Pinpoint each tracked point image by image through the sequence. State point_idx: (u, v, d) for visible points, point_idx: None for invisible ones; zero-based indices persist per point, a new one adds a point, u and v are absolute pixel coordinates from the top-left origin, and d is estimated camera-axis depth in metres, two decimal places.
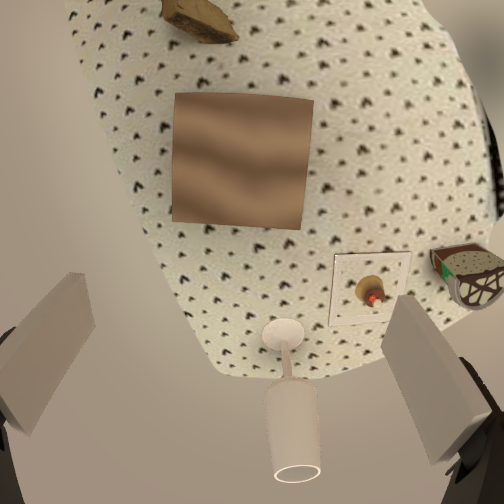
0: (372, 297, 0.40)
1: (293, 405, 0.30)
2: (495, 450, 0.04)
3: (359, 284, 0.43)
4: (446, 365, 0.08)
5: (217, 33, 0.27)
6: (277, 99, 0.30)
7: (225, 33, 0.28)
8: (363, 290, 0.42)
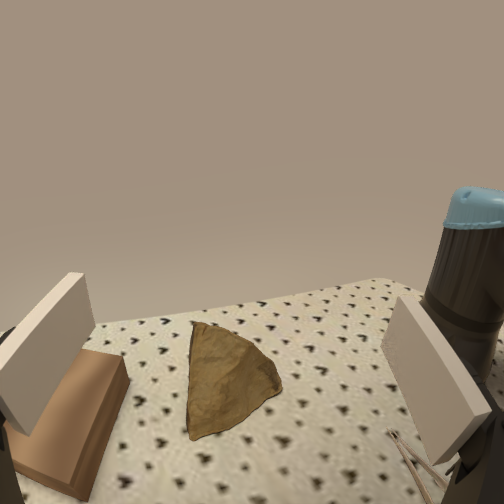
0: None
1: None
2: (495, 450, 0.04)
3: None
4: (446, 365, 0.08)
5: None
6: (79, 443, 0.17)
7: (188, 410, 0.23)
8: None
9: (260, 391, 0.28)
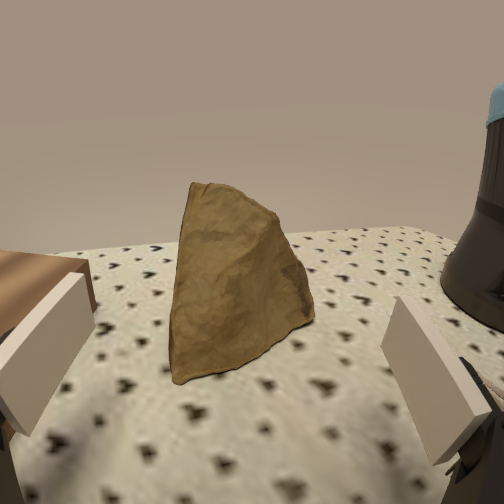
0: None
1: None
2: (495, 450, 0.04)
3: None
4: (446, 365, 0.08)
5: None
6: None
7: (171, 325, 0.15)
8: None
9: (285, 312, 0.20)
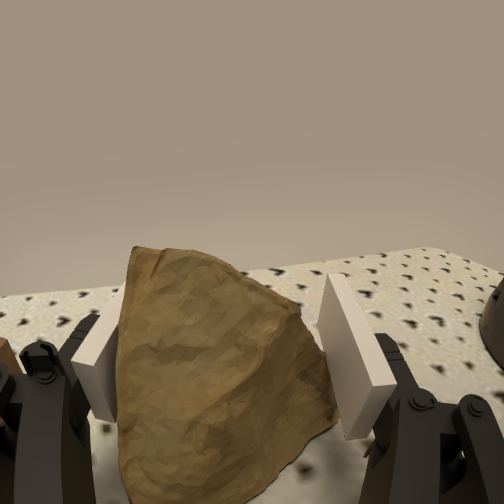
0: None
1: None
2: (404, 432, 0.06)
3: None
4: (355, 336, 0.09)
5: None
6: None
7: (122, 481, 0.07)
8: None
9: (301, 427, 0.12)
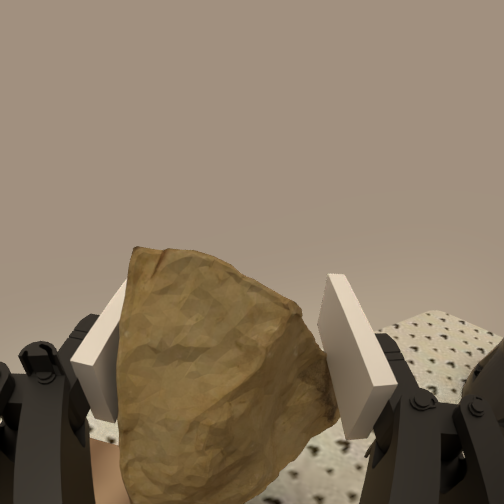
0: None
1: None
2: (405, 432, 0.06)
3: None
4: (355, 336, 0.09)
5: None
6: None
7: (123, 482, 0.07)
8: None
9: (302, 427, 0.12)
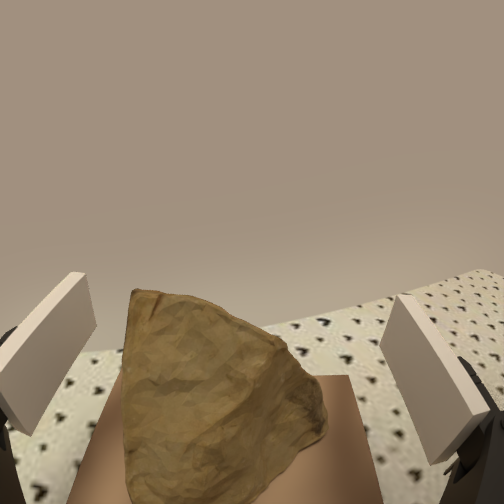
0: None
1: None
2: (493, 450, 0.05)
3: None
4: (444, 364, 0.08)
5: None
6: None
7: (129, 494, 0.08)
8: None
9: (290, 441, 0.12)
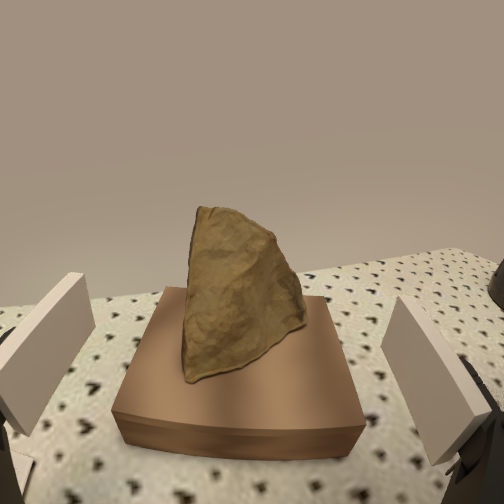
0: None
1: None
2: (495, 450, 0.04)
3: None
4: (446, 365, 0.08)
5: (184, 317, 0.18)
6: (347, 380, 0.19)
7: (184, 332, 0.18)
8: None
9: (282, 317, 0.22)
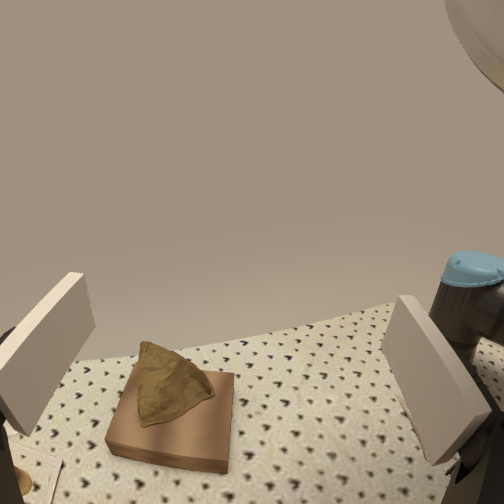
0: None
1: None
2: (495, 450, 0.04)
3: (25, 472, 0.23)
4: (446, 365, 0.08)
5: (138, 396, 0.32)
6: (226, 433, 0.33)
7: (137, 404, 0.31)
8: (19, 469, 0.22)
9: (195, 394, 0.36)
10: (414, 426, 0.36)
